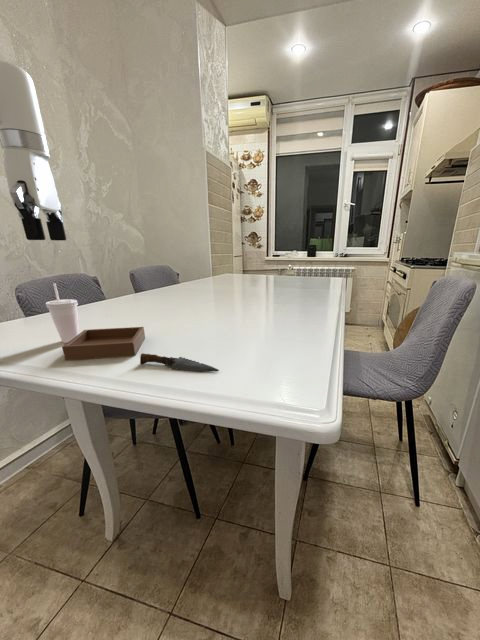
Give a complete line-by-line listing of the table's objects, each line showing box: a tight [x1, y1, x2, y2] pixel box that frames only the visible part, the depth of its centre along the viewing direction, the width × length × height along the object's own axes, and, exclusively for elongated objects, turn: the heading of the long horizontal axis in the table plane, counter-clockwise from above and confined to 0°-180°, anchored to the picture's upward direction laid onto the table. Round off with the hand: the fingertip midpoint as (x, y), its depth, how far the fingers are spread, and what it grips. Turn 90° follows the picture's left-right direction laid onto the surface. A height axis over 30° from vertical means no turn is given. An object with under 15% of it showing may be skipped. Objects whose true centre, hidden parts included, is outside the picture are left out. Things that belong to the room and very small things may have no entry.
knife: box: [139, 353, 220, 372], centre depth 56 cm, size 17×2×5 cm
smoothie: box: [45, 282, 80, 344], centre depth 69 cm, size 6×6×14 cm
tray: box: [61, 326, 146, 361], centre depth 66 cm, size 14×13×3 cm
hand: (48, 240), depth 63 cm, fingers open, 9 cm apart
